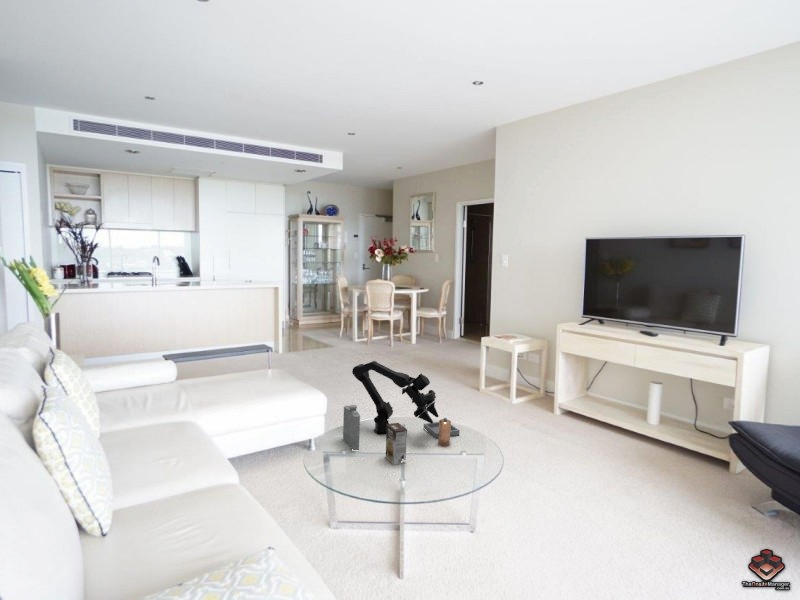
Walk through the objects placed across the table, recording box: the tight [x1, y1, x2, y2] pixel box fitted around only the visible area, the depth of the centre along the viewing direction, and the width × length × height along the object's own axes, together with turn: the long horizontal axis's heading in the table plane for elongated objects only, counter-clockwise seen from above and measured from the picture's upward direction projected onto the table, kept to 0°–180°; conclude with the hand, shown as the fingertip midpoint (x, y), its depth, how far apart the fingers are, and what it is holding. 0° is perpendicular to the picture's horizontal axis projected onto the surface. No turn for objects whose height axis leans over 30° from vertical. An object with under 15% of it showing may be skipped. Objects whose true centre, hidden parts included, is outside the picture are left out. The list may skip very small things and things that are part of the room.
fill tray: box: [423, 421, 460, 440], centre depth 249 cm, size 14×14×3 cm
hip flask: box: [342, 404, 361, 451], centre depth 229 cm, size 16×4×20 cm, turn 27°
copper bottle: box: [437, 417, 452, 448], centre depth 234 cm, size 6×6×14 cm
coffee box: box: [385, 422, 408, 466], centre depth 215 cm, size 9×6×16 cm
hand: (435, 419), depth 235 cm, fingers open, 9 cm apart
